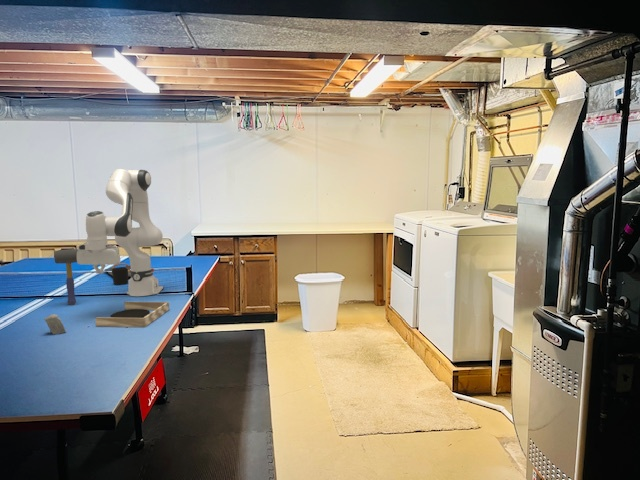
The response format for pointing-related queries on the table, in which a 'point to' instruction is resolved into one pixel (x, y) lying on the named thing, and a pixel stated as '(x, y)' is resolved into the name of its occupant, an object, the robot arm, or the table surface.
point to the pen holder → (120, 276)
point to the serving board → (118, 267)
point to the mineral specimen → (55, 324)
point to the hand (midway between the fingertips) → (99, 273)
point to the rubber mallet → (68, 269)
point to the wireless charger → (131, 313)
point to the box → (135, 322)
